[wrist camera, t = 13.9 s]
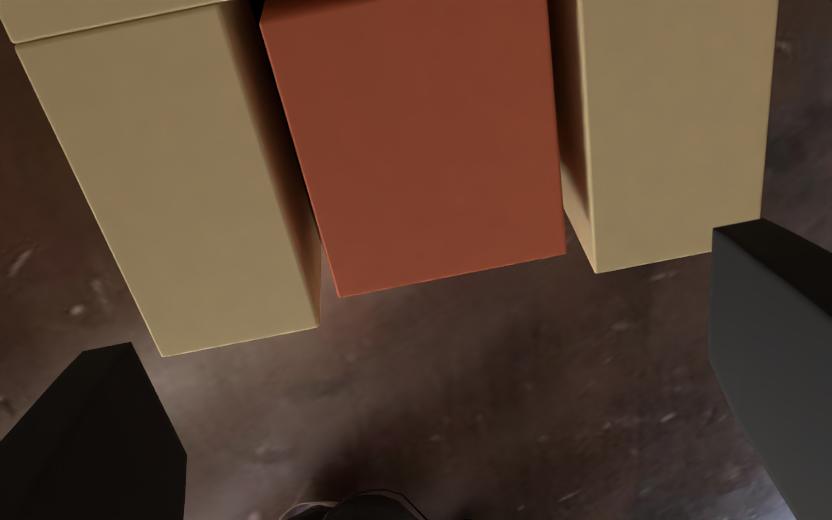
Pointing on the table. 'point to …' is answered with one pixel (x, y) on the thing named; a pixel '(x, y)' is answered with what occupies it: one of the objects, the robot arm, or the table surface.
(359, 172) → the small block
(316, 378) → the table surface
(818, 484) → the robot arm
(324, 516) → the toy figure
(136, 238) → the notched tile
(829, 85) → the table surface
